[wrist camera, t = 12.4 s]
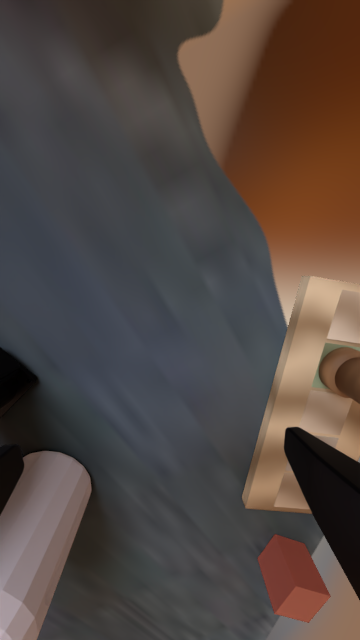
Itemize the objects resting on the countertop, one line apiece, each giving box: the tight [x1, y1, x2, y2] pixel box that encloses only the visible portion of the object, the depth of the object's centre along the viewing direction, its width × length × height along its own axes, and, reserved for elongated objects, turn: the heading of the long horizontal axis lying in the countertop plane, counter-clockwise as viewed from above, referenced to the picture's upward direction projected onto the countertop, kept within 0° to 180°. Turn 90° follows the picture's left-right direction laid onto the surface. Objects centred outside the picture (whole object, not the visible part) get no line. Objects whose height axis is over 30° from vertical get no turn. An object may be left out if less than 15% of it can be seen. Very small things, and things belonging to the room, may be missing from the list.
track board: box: [242, 276, 360, 514], centre depth 21 cm, size 26×11×1 cm, turn 171°
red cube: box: [258, 534, 330, 623], centre depth 24 cm, size 4×4×4 cm
